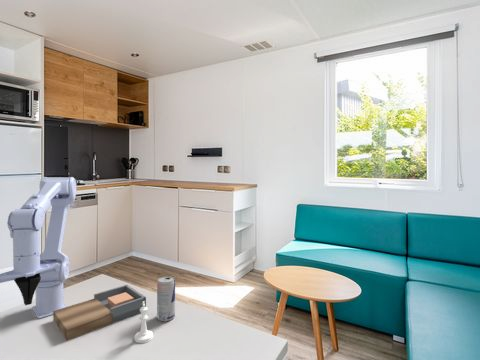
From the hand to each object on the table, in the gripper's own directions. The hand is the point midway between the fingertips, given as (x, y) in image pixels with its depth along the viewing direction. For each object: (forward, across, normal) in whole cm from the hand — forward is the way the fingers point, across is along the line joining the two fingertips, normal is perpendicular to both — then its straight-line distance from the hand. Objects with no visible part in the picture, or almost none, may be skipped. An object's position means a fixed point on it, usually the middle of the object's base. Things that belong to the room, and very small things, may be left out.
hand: (27, 303), depth 76 cm
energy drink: (+10, +32, -17) cm, 37 cm away
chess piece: (+10, +22, -22) cm, 32 cm away
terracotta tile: (+8, +24, -2) cm, 25 cm away
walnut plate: (+9, +13, -2) cm, 16 cm away
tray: (+9, +24, -2) cm, 26 cm away
